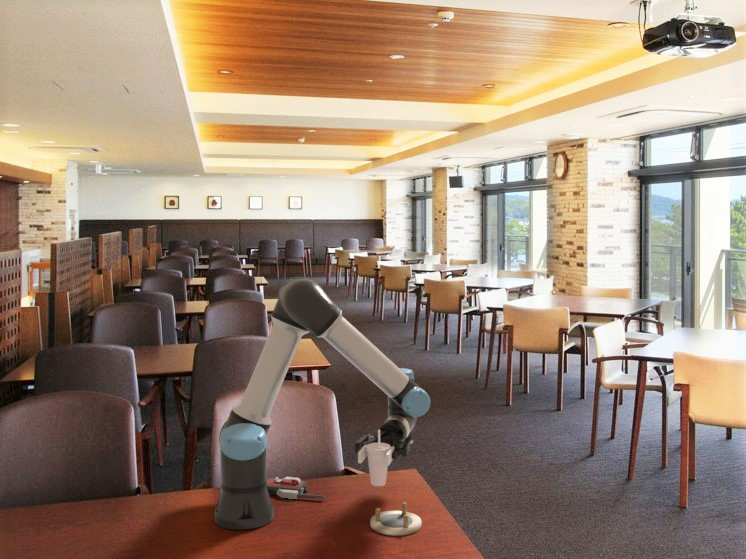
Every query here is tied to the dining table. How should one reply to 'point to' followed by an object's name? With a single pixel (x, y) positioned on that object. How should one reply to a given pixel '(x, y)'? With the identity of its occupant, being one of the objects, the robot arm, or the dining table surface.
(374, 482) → the smoothie
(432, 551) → the dining table surface
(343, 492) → the dining table surface
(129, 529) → the dining table surface
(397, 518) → the cup holder base
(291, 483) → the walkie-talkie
